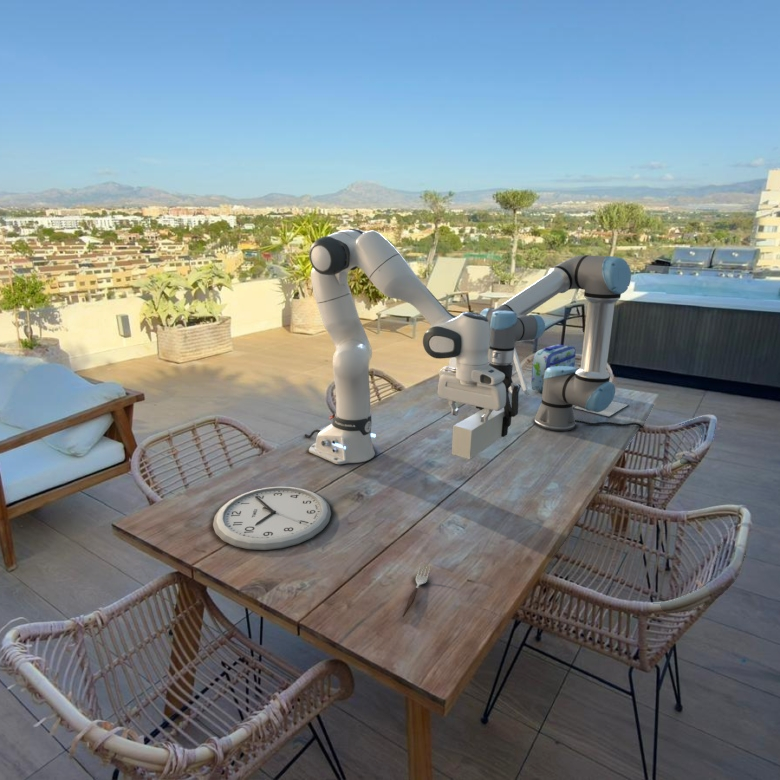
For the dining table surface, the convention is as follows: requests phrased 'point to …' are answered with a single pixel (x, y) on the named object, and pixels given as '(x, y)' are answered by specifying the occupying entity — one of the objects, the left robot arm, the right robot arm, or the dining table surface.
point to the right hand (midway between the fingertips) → (494, 432)
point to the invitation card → (608, 409)
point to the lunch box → (550, 362)
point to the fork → (419, 580)
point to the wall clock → (272, 518)
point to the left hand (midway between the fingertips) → (469, 418)
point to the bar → (476, 433)
